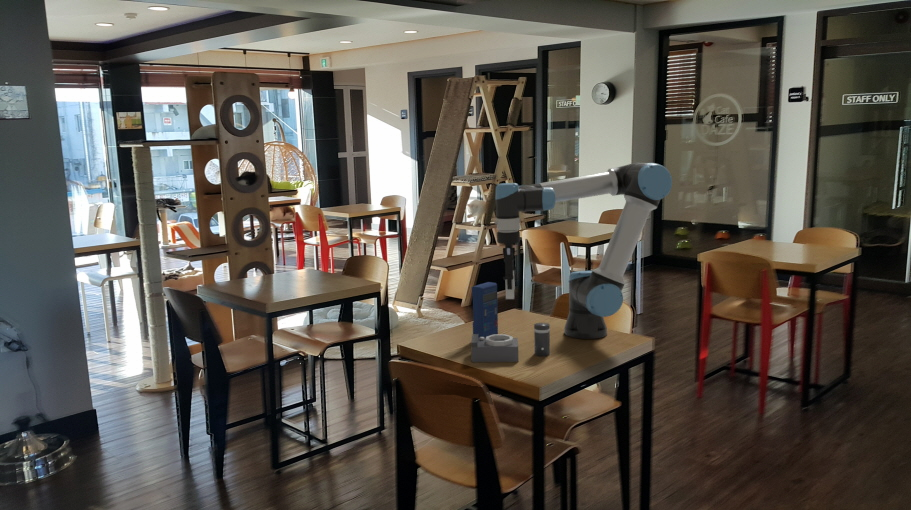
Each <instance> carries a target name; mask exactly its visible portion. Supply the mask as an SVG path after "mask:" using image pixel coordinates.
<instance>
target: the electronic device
mask: <svg viewBox="0 0 911 510" xmlns="http://www.w3.org/2000/svg"><path fill="white" fill-rule="evenodd" d="M471 295H472V316H473V318H472V321H473V322H472V334H478V338H480V337H484V338H486V337H487V336H490V335H494V334H499V321H498V320H499V319H498V318H499V317H498V284H497V283H496V282H491V281H487V282H484V283H480V284H477V285H474V286H472V287H471Z"/></svg>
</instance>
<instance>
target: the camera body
mask: <svg viewBox="0 0 911 510" xmlns="http://www.w3.org/2000/svg"><path fill="white" fill-rule="evenodd" d="M518 339H519V338H518V337H513V336H512V335H509V334H504V333H503V334H501V333H500V334H499V333H498V334H494V335H490V336H487V337H486V338H484V337H480V338H478V334H473V333H472V335H471V342H470V346H471V348H470V351H471V353H470V354H471V363H515V362H517V363H518V362H519V340H518Z"/></svg>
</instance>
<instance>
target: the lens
mask: <svg viewBox="0 0 911 510" xmlns="http://www.w3.org/2000/svg"><path fill="white" fill-rule="evenodd" d="M533 327H534V328H533V333H534V335H533V337H534V339H533V340H534V341H533V343H534V356H536V357H548V356H550V353H551V349H550V346H551V345H550V342H551V339H550V336H551V334H550V333H551V332H550V331H551V327H550V324H549V323H547V322H537V323H536V322H535V323H534V325H533Z"/></svg>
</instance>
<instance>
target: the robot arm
mask: <svg viewBox="0 0 911 510" xmlns="http://www.w3.org/2000/svg"><path fill="white" fill-rule="evenodd" d="M672 186H673V178H672V175H671V172H670V170H669V169H668V168H667V167H665V166H664V165H661V164H659V163H655V162H633V163H629V164H626V165H622V166H621V165H620V166H617V167H612V168H608V169H607V170H606V172H599V173H593V174H588V175H582V176H581V175H580V176H576V177H568V178H564V179H563V178H562V179H558V180H557V179H556V180H553V181H545V182H539V183H533V184H528V185H527V184H521V185H519V184H518V183H515V182H510V183H509V182H507V183H506V182H505V183H504V182H503V183H498V184H496V186H495V210H496V211H495V212H496V213H495V214H496V215H495V216H496V220H495V221H494V224H495V225H496V230H497V232H496V242H497V244H500V245H504V247H503V248H502V254H503V262H504V272H505V273H504V274H505V275H504V276H502V279H503V280H504V281H505V283H504V284H505V300H515V290H516V289H515V288H516V286H515V271H517V267H516V266H515V264H514V262H515V254H516V247H514V244H518V243H520V242H521V231H520V229H521V223H520V221H521V220H520V212H521V213H522V212H523V213H524V212H539V211H543V212H545V211H551V210H554V208H555V205H556V203H560V202H564V201H565V202H567V201H573V200H580V199H585V198H591V197H597V196H603V195H608V194H610V195H611V196H613V197H615V196H624V200H625V204H624V206H623V208H622V211H621V213H620V215H619V219H618V220H617V223H616V224H615V228H614V231H613V233H612V235H611V237H610V239H609V242H608V245H607V246H606V250H605V252H604V254H603V257H602V259H601V261H600V264H599V265H598V267H597V268H595V269H593V270H580V271H579V270H578V271H577V270H576V271H572V272H571V273H569V276H568V277H569V278H568V299H569V300H568V301H569V302H568V305H569V306H568V309H569V312H568V315H567V318H566V321H565V324H564V331H563V332H564V334H565V336H567V337H569V338H573V339H579V340H580V339H582V340H594V339H600V338H603V337H606V336H608V327H607V324H606V321H605V317H606V318H608V317H611V316H613V315H615V314H616V313H618V312H619V311H620V309H621V307H622V305H623V301H624V295H623V292H622V291H623V289H624V287H625V284H626V283H625V280H624V275H625V272H626V270H627V268H628V265H629V263H630V260H631V259H632V256H633V253H634V252H635V248H636V246H637V244H638V241H639V240H640V239H639V238H640V236H641V235H642V232H643V230H644V228H645V225H646V223H647V219H648V218H649V216H650V213H651V212H652V211H653V210H654V211H655V210H656V209H658V206H659V204H660V201H661V200H662V199H664V198H666V197H667V196H668V195H669V194H670V192H671V190H672V188H673V187H672Z"/></svg>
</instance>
